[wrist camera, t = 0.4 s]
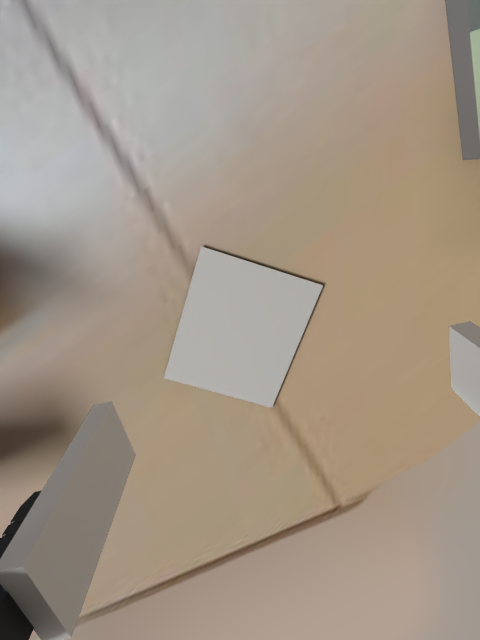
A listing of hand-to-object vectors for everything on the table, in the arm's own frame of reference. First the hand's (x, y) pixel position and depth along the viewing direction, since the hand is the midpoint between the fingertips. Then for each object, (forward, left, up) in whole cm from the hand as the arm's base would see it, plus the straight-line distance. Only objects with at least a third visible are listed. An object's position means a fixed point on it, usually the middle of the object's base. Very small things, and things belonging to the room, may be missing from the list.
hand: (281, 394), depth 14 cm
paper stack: (+15, -3, -28) cm, 32 cm away
